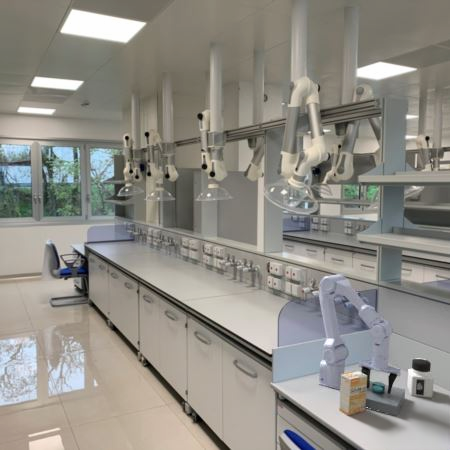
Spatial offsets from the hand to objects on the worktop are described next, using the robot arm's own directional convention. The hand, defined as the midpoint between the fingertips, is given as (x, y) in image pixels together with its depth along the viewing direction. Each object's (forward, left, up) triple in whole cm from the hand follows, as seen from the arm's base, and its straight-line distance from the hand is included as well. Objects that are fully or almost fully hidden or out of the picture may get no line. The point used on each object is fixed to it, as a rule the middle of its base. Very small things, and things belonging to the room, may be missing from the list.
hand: (378, 390), depth 163 cm
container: (+12, +17, -4) cm, 21 cm away
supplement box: (-6, -13, -4) cm, 15 cm away
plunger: (0, 0, -4) cm, 4 cm away
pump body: (0, 0, -4) cm, 4 cm away
